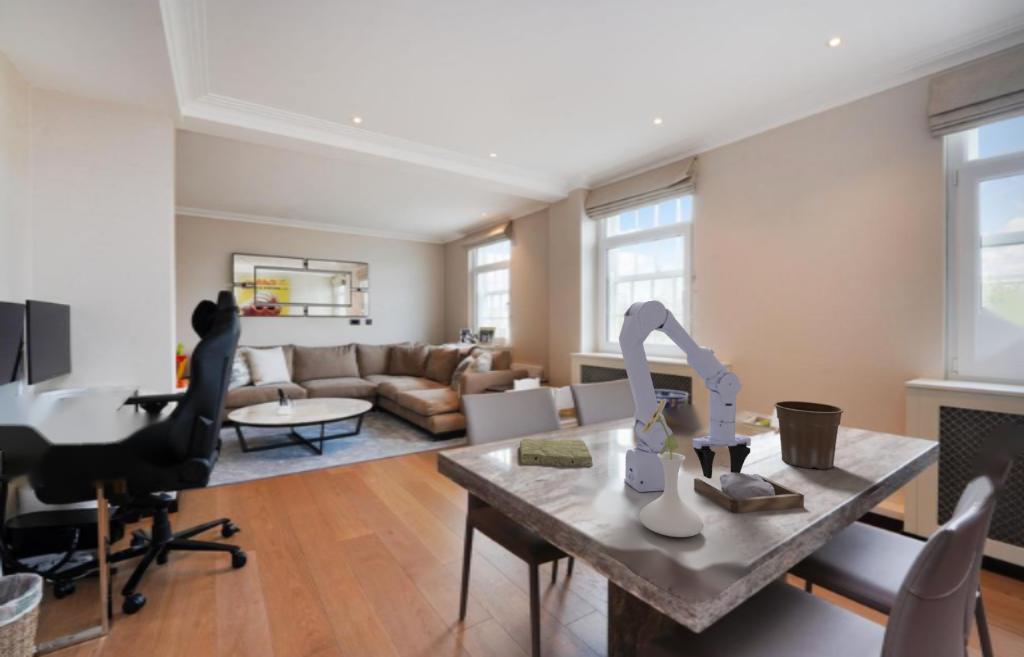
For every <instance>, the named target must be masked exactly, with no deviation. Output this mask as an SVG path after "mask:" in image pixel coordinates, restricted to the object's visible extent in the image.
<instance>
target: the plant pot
mask: <svg viewBox="0 0 1024 657" xmlns="http://www.w3.org/2000/svg"><path fill="white" fill-rule="evenodd" d="M773 406H774V407H775V410H776V411H775V412H776V418H777V419H778V427H779V428H778V429H779V439H780V449H781V450H780V451H781V452H780V453H781V460H783V462H785V463H787V464H789V465H792V466H795V467H798V468H803V469H804V468H805V469H809V470H810V469H812V468H816V469H817V470H830V469H832V468H833V467H834V464H835V457H836V456H835V454H836V447H837V446H836V445H837V439H838V438H837V437H838V433H839V432H838V430H839V426H840V425H841V419H842V414H843V413H844V410H845V409H843V408H842V407H839V406H837V405H832V404H826V403H819V402H812V401H810V402H809V401H800V400H799V401H798V400H785V401H784V400H783V401H776V402H774V405H773Z"/></svg>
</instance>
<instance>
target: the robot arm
mask: <svg viewBox="0 0 1024 657" xmlns="http://www.w3.org/2000/svg"><path fill="white" fill-rule="evenodd" d="M622 322H623V323H622V326H621V330H620V332H619V335H618V341H619V346H620V350H621V354H622V358H623V362H624V367H625V371H626V374H627V378H628V383H629V386H630V391H631V393H632V398H633V402H634V407H635V411H634V414H633V417H634V426H633V432H634V435H635V437H636V438H637V439H638V441H637V443H636V446H635V447H634V448H630V449H628V450H627V451H626V454H625V472H624V473H625V474H624V475H625V478H624V479H623V481H624V482H625V483H626V484H628V485H629V487H630V486H631V487H632V488H633V489H634V490H636V492H639V493H645V492H660V491H664V489H665V475H664V468H663V465H662V462H661V460H660V459H659V457H658V454H659V453H661V450H662V448H663V447H664V445H665V443H664V441H665V440H666V438H667V435H666V432H665V430H664V428H663V426H662V424H661V422H655V423H654V425H653V426H652V428H651V429H650V430H649V432H648V433H647V434H643V433H644V432H643V433H642V431H643V430H644V428H645V426H646V424H647V423H648V422H649V421H650V419H651V417H652V415H653V413H654V412H655V411H656V410H657V408H658V406H659V404H658V400H657V396H656V391H655V388H654V384H653V381H652V380H653V379H652V376H651V371H650V368H649V363H648V358H647V355H646V352H645V348H644V343H645V341H646V340H647V338H648V336H650V334H651V333H652V332H653V331H657V332H661V333H664V334H665V335H666V336H667V337H668V338H669V339H670V340H671V341H672V342H673V343H674V344H675V345H676V346H677V347H679V349H680V350H681V351H683V352H684V353H685V354H686V362H687V364H688V365H689V366H690V367H691V368H692V369H693V370H694V372H696V374H697V375H698V376H699V377H700V378H701V379H702V380H703V381H704V386H705V388H706V389H708V390H709V408H708V409H709V422H708V425H709V426H708V435H707V436H703V437H696V438H692V447H693V450H694V451H695V454H696V457H698V460H699V463H700V465H701V466H700V467H701V470H702V474H703V477H704V478H707V479H710V480H711V479H712V476H713V466H714V465H713V464H714V458H715V455H716V452H715V451H713V450H712V448H720V447H727V448H728V452H729V458H730V473H742V468H743V466H744V463H745V461H746V459H747V457H748V456H749V455H750V453H751V448H750V447H751V446H752V445H751V444H752V443H751V442H752V438H751V437H750V436H745V435H736V414H737V413H736V412H737V411H736V408H737V407H736V405H737V398H738V396H737V395H738V394H739V393H740V392H741V390H742V386H743V384H742V383H740V379H739V377H738V375H737V374H735V373H734V372H731V371H728V369H727V368H728V366H727V365H726V364H725V363H722V362H721V361H720V360H719V359H718V358H717V357H716V356H715V352H716V351H714V350H713V349H712V348H708V347H707V346H699V345H698V344H697V343H696V341H695V340H694V339H693V338H692V337H691V335H690V334H689V332H687V330H686V329H685V328H684V327H683V326H682V325H681V323H680V322H679V321H678V320H677V319H676V317H675V316H674V314H673V313H672V311H671V310H670V309H668V308H666V306H665V305H664V304H663V303H662V302H661V301H659V300H656V299H650V300H647V301H637V302H634V303H632V304H631V305H630V306H629V308H628V309H627V310H626V311H625V312H624V313H623V321H622ZM660 416H661V420H662V422H663V423H664V425H665V428H666V430H667V432H668V435H669V436H670V435H671V434H673V431H672V429H671V428H670V427H669V426H668V424H667V422H666V418H665V416H664V414H663V413H662V412H661V414H660ZM673 435H674V434H673ZM665 452H670V450H669V449H668V448H667V449H666V451H665Z"/></svg>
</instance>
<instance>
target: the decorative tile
mask: <svg viewBox="0 0 1024 657" xmlns="http://www.w3.org/2000/svg"><path fill="white" fill-rule="evenodd" d="M519 442H520V443H519V452H520V462H521V464H522V465H547V466H548V465H552V466H557V467H561V466H564V467H593V457H592V454H591V452H590V450H589V448H588V446H587V444H586V442H585V440H579V439H578V440H577V439H576V440H575V439H574V440H573V439H545V438H544V439H542V438H540V439H533V438H523V439H521V440H520V441H519Z"/></svg>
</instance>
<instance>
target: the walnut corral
mask: <svg viewBox="0 0 1024 657" xmlns="http://www.w3.org/2000/svg"><path fill="white" fill-rule="evenodd" d="M752 475H759V474H758V473H753V474H752ZM760 476H761V477H762V480H764V482H768V483H770V484H771V485H772V486H773V488H774V491H775V495H774V496H761V497H749V498H737V499H735V498H733V497H731V496H729V495H727V494H726V493H724V491H722V490H720V489H718V488H716V487H715V486H713V485H711V484H709V483H707V482H706V481H704V480H702V479H701V478H698V477H696V478H693V490H694V491H697V492H698V493H700V494H701V495H703V496H705V497H706V498H709V499H710V500H711V501H714V502H715V503H716V504H719V505H720V506H721V507H722V508H725V509H726V510H728V511H730V512H731V513H733V514H738V513H750V512H759V511H760V512H761V511H772V510H783V509H795V508H804V507H805V494H802V493H800V492H798V491H796V490H793V489H792V488H789V487H786V486H784V485H782V484H780V483H777V482H776V481H773V480H771V479H769V478H766V477H764V476H762V475H760Z"/></svg>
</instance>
